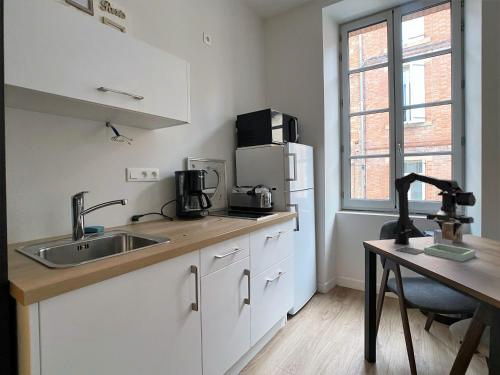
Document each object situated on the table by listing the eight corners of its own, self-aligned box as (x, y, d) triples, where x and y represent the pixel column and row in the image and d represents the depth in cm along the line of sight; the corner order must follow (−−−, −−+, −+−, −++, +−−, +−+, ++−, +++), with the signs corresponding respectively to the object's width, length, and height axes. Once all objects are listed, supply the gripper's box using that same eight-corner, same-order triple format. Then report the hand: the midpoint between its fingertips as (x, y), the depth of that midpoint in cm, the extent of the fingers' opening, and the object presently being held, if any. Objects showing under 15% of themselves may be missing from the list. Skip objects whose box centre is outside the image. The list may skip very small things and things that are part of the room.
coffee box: (444, 241, 161) (444, 215, 160) (441, 239, 167) (441, 213, 166) (463, 242, 158) (463, 215, 157) (458, 239, 164) (458, 214, 163)
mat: (396, 250, 145) (396, 249, 145) (406, 247, 150) (406, 246, 150) (415, 254, 136) (415, 253, 136) (425, 251, 141) (425, 250, 141)
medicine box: (447, 244, 154) (447, 229, 154) (452, 246, 150) (452, 231, 149) (433, 244, 155) (433, 229, 154) (437, 246, 150) (437, 231, 150)
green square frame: (424, 253, 139) (423, 247, 139) (437, 248, 146) (437, 243, 146) (462, 261, 124) (462, 255, 124) (475, 256, 131) (475, 250, 131)
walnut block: (441, 238, 135) (441, 223, 135) (446, 237, 138) (446, 222, 137) (452, 240, 132) (452, 224, 131) (456, 239, 134) (456, 223, 134)
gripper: (421, 204, 138) (421, 234, 138) (464, 207, 122) (464, 240, 122) (431, 203, 144) (432, 231, 144) (474, 205, 127) (474, 237, 128)
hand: (449, 234), depth 135 cm, fingers closed on walnut block, 4 cm apart
